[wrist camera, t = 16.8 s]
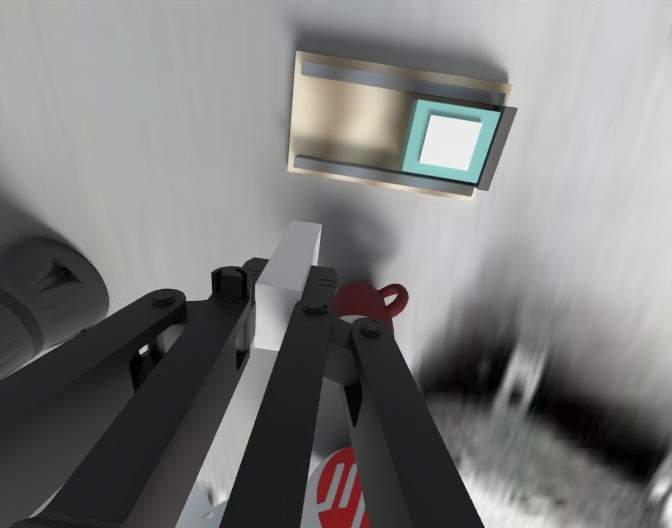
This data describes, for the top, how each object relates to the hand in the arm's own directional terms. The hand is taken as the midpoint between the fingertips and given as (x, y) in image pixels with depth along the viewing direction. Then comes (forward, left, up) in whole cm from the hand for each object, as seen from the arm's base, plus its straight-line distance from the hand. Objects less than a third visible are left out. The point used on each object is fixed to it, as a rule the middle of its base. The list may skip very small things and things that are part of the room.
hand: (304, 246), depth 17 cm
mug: (+5, -14, -21) cm, 26 cm away
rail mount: (+4, +5, -21) cm, 22 cm away
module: (+10, +5, -20) cm, 22 cm away
